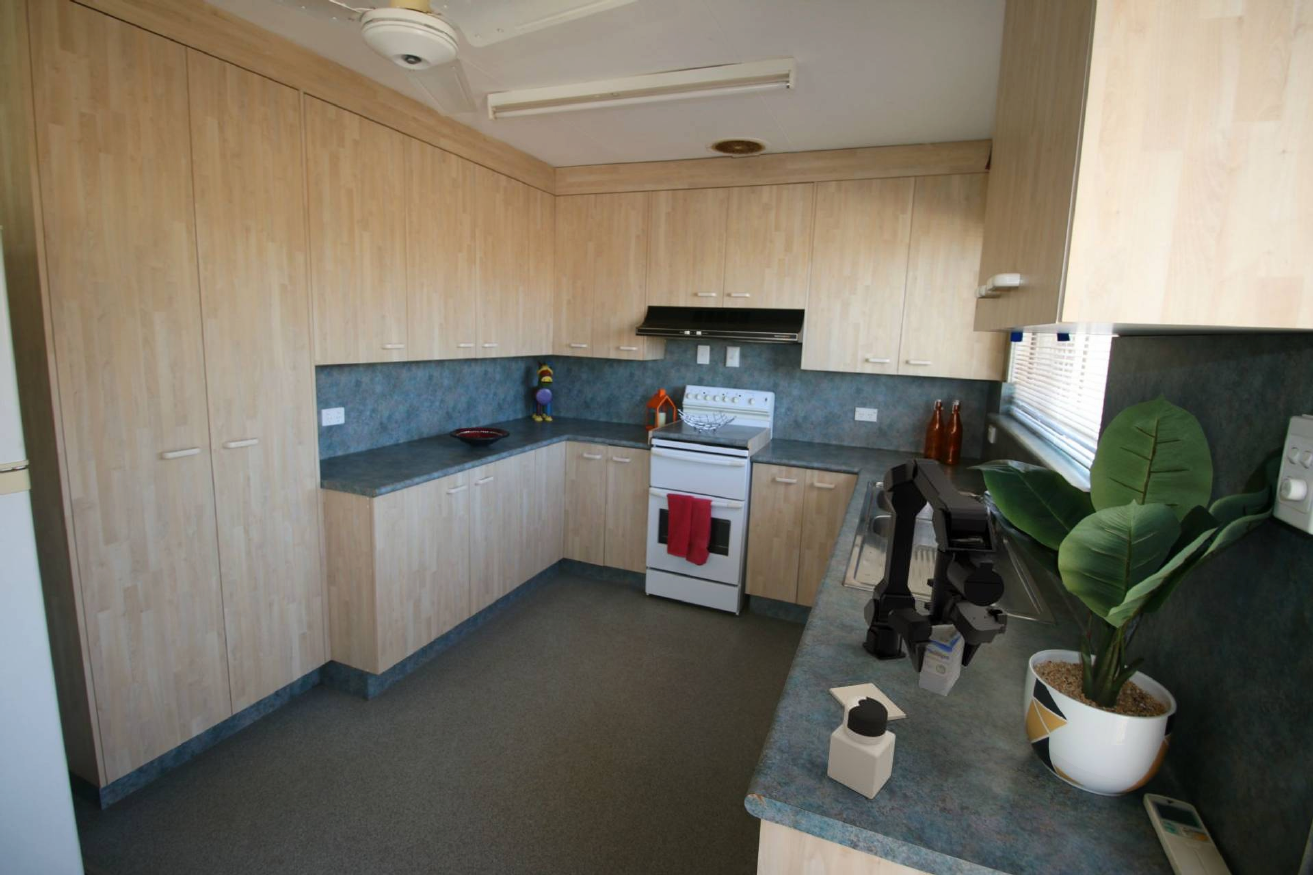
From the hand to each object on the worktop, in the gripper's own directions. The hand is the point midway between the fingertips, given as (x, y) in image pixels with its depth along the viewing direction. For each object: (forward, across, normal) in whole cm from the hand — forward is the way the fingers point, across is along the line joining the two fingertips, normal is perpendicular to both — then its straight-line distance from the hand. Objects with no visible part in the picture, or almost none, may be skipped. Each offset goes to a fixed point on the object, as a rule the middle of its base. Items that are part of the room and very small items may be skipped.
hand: (941, 668), depth 104 cm
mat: (+12, -6, +10) cm, 17 cm away
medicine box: (+3, 0, 0) cm, 3 cm away
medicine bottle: (+12, -18, -6) cm, 23 cm away
